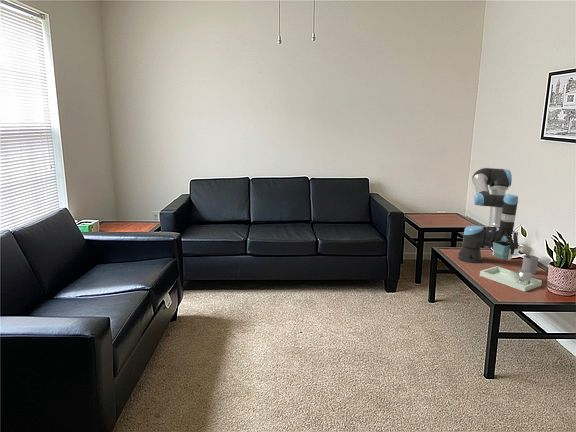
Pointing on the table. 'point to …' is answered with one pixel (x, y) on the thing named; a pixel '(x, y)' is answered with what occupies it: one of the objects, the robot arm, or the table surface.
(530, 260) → the cup
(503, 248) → the flower pot
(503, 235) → the robot arm
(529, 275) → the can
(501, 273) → the shallow serving tray
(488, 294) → the table surface
